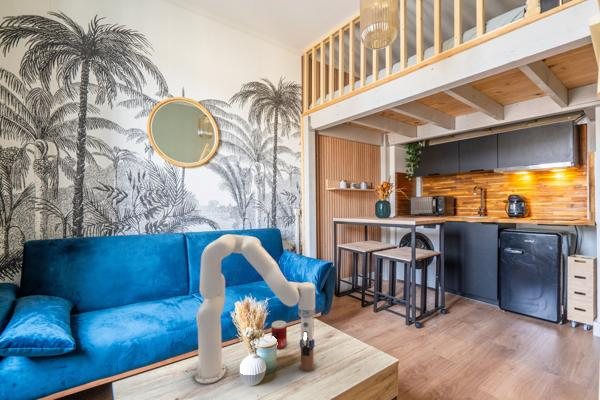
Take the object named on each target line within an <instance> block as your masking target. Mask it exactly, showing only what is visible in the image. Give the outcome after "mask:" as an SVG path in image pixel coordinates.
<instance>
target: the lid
mask: <svg viewBox="0 0 600 400" xmlns="http://www.w3.org/2000/svg"><path fill="white" fill-rule="evenodd" d="M307 339H308V338H307ZM302 343H303V340H302V339H301V338H300V339H299V347H300V350H301V349H302ZM307 343H308V341H307ZM315 343H316V342H315V339H314V338H313V340H312V341H310V340H309V346H310V350H311V349H313V348H314V349H315Z"/></svg>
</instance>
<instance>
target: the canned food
mask: <svg viewBox="0 0 600 400" xmlns="http://www.w3.org/2000/svg"><path fill="white" fill-rule="evenodd" d="M287 329H288V328H287V322H286V321H284V320H274V321H273V322H272V323H271V337H272V336H274V337H275V338H276V339H277V342H278V345H277V349H276V350H280V349H284V348H285V347H286V346H287V344H288V343H287V341H288V337H287V335H288V334H287V333H288V330H287Z"/></svg>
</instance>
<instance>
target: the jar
mask: <svg viewBox="0 0 600 400" xmlns="http://www.w3.org/2000/svg"><path fill="white" fill-rule="evenodd" d="M314 354H315V347H314V348H313V349H311V350H310V355H309V356H303V355H302V349H301V348H300V369H301V370H302V371H304V372H311V371H313V370H314V368H315V355H314Z"/></svg>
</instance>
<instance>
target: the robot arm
mask: <svg viewBox="0 0 600 400" xmlns="http://www.w3.org/2000/svg"><path fill="white" fill-rule="evenodd" d="M232 253H233V254H241V255H242V256H244V258H245V259H246V260H247V262H248V263H249V264H250V265H251V266H252V267H253V268H254V269H255V270H256V272H257V273H258V274H259V275H260V276H261V277H262V279H263V280H264V282H265V283H266V284H267V286H268V287H269V288H270V290H271V291H272V293H274V295H275V296H276V297H277V298H278V299H279V300H280V301H281V303H283V305H285V306H287V307H294V306H296V305H297V304H298V317H300V340H301V339H302V340H303V343H302V355H303V356H309V355H310V346H309V340H310V341H312V340H313V339H314V334H315V323H314V319H315V318H314V317H315V316H316V285H315V284H314V283H313V282H309V281H305V282H297V281H288V280H287V278H286V277H285V275H284V274H283V272H282V271H281V269H280V267H279V264H278V263H277V261H276V260H275V259H274V258H273V257H272V256H271V255H270V254H269V252H268V251H267V250H266V249H265V248H264V247H263V246H262V242H261V240H260V239H259V238H257V237H255V236H251V235H242V234H241V235H240V234H232V233H231V234H229V233H227V234H223V235H221V236H219V238H217V239H215V240H213V241H212V242H210V243H209V244H208V245H206V246H205V248H204V250H203V251H202V254H201V257H200V269H199V270H200V272H199V294H200V295H201V298H203V302H202V303H201V304H200V306H199V307H198V310H197V313H196V326H197V343H198V344H197V345H198V346H197V348H198V350H197V351H198V353H197V355H198V361H197V365H195V366H190V367H187V369H186V370H187V372H186V374H189V376H193V375H194V380H195V381H196V382H197V383H200V384H212V383H215V382H217V381H219V380H221V379H222V378H224V376H225V374H226V372H227V371H226V366H225V365H224V364H223V354H222V353H223V349H222V347H223V346H222V345H223V344H222V341H223V340H222V323H221V316H222V313H223V311H224V308H225V303H226V278H225V276H224V274H223V273H222V261H223V260H224V258H226V257H228V256H231V254H232ZM307 338H308V339H307ZM307 341H308V343H307Z"/></svg>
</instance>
